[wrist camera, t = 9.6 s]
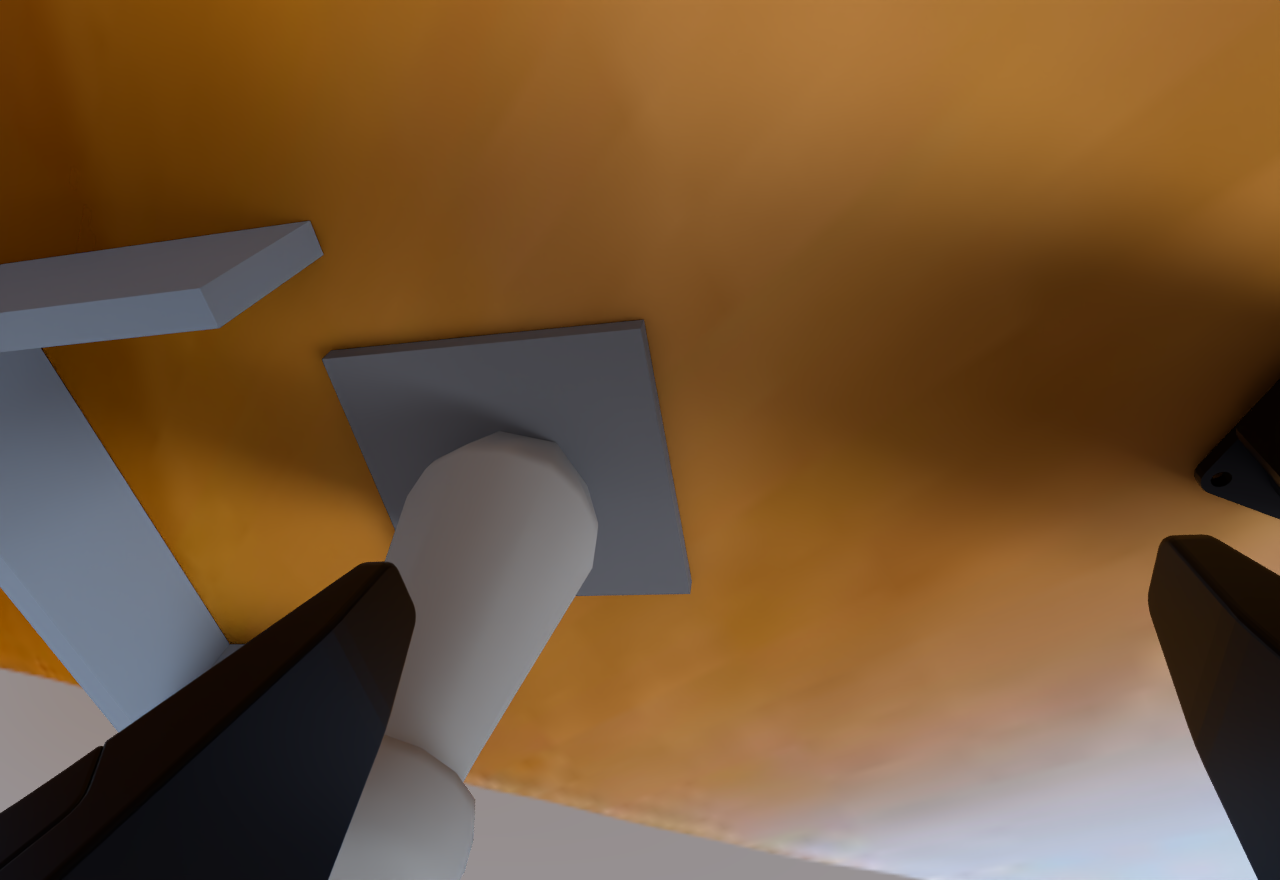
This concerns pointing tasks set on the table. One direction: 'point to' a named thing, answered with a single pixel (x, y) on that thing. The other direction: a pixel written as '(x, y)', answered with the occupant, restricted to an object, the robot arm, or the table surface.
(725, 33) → the table surface
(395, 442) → the coaster
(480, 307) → the table surface
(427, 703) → the salt shaker
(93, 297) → the cradle
